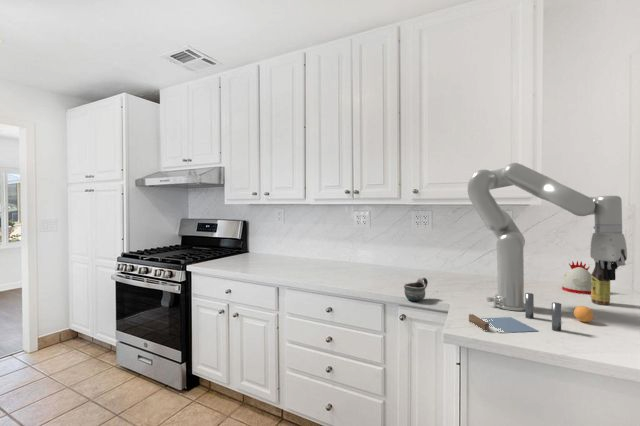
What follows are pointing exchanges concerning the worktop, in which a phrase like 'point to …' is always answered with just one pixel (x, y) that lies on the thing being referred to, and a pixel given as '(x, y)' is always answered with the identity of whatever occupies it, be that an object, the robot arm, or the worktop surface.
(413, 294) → the mug
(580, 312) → the ball
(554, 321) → the edge side post
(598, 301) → the sauce bottle
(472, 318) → the wall
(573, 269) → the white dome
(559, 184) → the robot arm
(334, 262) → the worktop surface
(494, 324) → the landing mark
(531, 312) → the base side post
